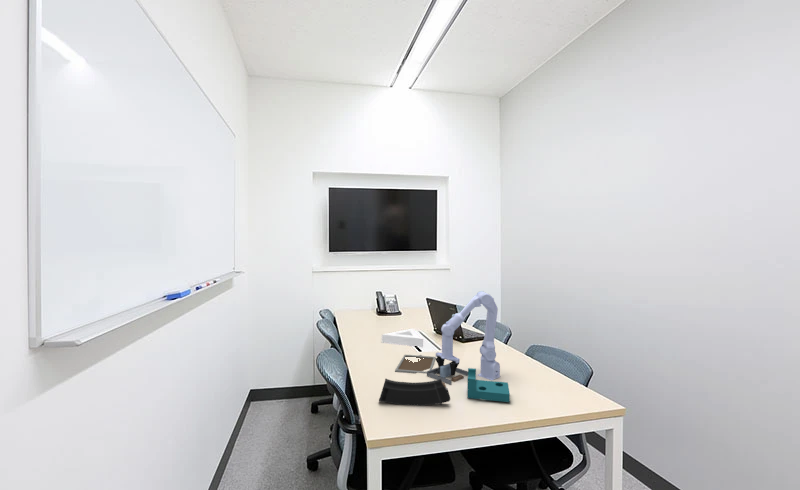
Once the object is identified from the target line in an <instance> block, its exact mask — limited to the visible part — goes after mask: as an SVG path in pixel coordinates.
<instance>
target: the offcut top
mask: <svg viewBox="0 0 800 490" xmlns="http://www.w3.org/2000/svg"><path fill="white" fill-rule="evenodd" d="M464 376H465V375H463V374H457V375H454V376H451V380H452V382H453V381H456V382H458V381H461V380H463V379H465V377H464ZM462 378H463V379H462ZM460 379H461V380H460ZM457 380H458V381H457Z"/></svg>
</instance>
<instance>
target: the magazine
mask: <svg viewBox="0 0 800 490" xmlns="http://www.w3.org/2000/svg"><path fill="white" fill-rule="evenodd" d="M450 395H451V394H450V392H449V389H448V388H447V384H446V383H444V382H442V380H441V379H439V380H436V379H433V380H430V381H423V382H421V381H420V382H419V381H418V382H407V381H396V380H393V379H392V380H391V379H388V378H385V379H384V383H383V386H382V389H381V393H380V396H379V398H378V402H383V403H388V404H389V403H390V404H395V405H401V406H402V405H403V406H418V407H419V406H420V407H421V406H430V405H431V406H432V405H440V406H443V403H449V402H450V401H451V396H450Z"/></svg>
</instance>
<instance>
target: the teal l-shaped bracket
mask: <svg viewBox="0 0 800 490" xmlns="http://www.w3.org/2000/svg"><path fill="white" fill-rule="evenodd" d="M467 371H468V376H467V388H466V389H467V394H466V395H467V396H466V397H467V399H473V400H474V399H475V400H481V401H492V402H493V401H495V402H503V403H511V402H510V401H511V400H510V399H511V398H510V395H511V394H510V387H509V384H508V382H505V381H494V380H482V379H480V380H479V379H477V368H474V367H473V368H472V367H471V368H470V367H469V368H467Z"/></svg>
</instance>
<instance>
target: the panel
mask: <svg viewBox="0 0 800 490" xmlns="http://www.w3.org/2000/svg"><path fill="white" fill-rule="evenodd" d="M439 376H441V377H444V378H448V377H450V376H451V368H450V364H449V363H446V364H444V366H441V367H440V373H439Z"/></svg>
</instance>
